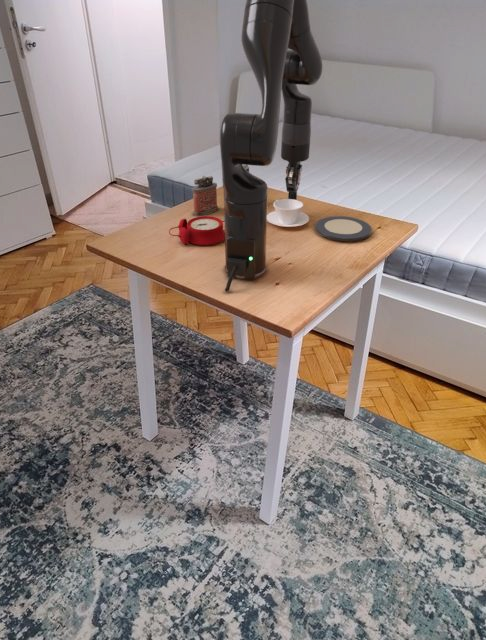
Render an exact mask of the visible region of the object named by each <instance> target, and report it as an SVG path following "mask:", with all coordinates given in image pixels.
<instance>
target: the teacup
mask: <svg viewBox="0 0 486 640" xmlns="http://www.w3.org/2000/svg"><path fill="white" fill-rule="evenodd" d="M273 208H274V211H271V212H269V213H267V223H270V224H272V225H275V226H278V227H282V228H283V227H284V228H285V227H286V228H293V227H301V226H303V225H306V224H308V223H309V221H310V216H309V215H308V214H306V212H302V209H303V208H304V203H303V202H302V201H301V200H298V199H297V200H294V199H288V198H280V199H276V200H275V201H274V202H273Z"/></svg>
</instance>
